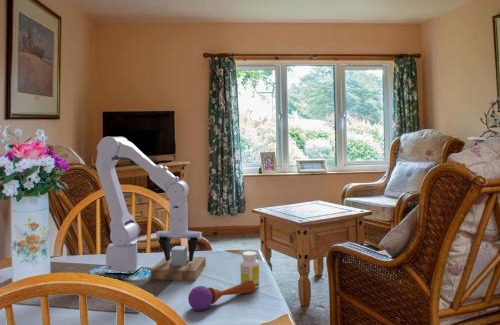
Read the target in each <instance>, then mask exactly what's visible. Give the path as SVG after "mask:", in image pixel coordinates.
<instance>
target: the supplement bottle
mask: <svg viewBox="0 0 500 325" xmlns="http://www.w3.org/2000/svg"><path fill="white" fill-rule="evenodd" d="M239 265H240V284H242V283H245V282H247V281H253V282H254V284H255V289H257V288H259V286H260V263H259V261H258V260H257V252H255V251H252V250H251V251H249V250H248V251H244V252H243V253H242V260H241V261H240V264H239Z"/></svg>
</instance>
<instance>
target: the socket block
mask: <svg viewBox="0 0 500 325" xmlns="http://www.w3.org/2000/svg"><path fill="white" fill-rule="evenodd" d="M206 258H207V257H206V256H193V260H192V261H189V256H187V265H186V266H172V261H171V255H170V259H169V260H168V261H166V258H165V256H164V257H162V258H161V260H159V262H157V263H156V264H155V265H154V266H153V267H152V268H151V269H150V279H151V280H164V281H165V280H167V281H169V280H170V281H193V282H194V281H195V282H196V281H197V279H198V277H199V276H200V275H201V273H202V272H203V271H204V269H205V268H206V266H207V265H206V264H207V262H206V260H207V259H206Z"/></svg>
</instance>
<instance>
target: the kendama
mask: <svg viewBox="0 0 500 325" xmlns="http://www.w3.org/2000/svg"><path fill="white" fill-rule="evenodd" d="M255 290H256V288H255V284H254V282H253V281H247V282H245V283H242V284H241V283H240V284H237V285H234V286H231V287H230V288H226V289H223V290H219V289H216V288H214V287H210V286H209V287H207V286H204V285H198V286H194V287H193V288H192V289H191V290H190V293H189V294H188V296H187V298H188V299H187V300H188V301H187V302H188V304H189V306H190V307H191V308H192V309H193V310H195V311H198V312H200V311H205V310H207V309H208V308H210V306H211V305H214V304H215V303H216V302H217V301H218V300H219V299H220V298H221V297H222V296H230V295H240V294H252V293H254V292H256V291H255Z"/></svg>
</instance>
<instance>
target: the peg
mask: <svg viewBox="0 0 500 325" xmlns="http://www.w3.org/2000/svg"><path fill="white" fill-rule="evenodd" d="M170 256H171V261H172V266H186V265H187V257H188V246H187V245H186V246H182V245H175V246H173V247H172V248H170Z"/></svg>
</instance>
